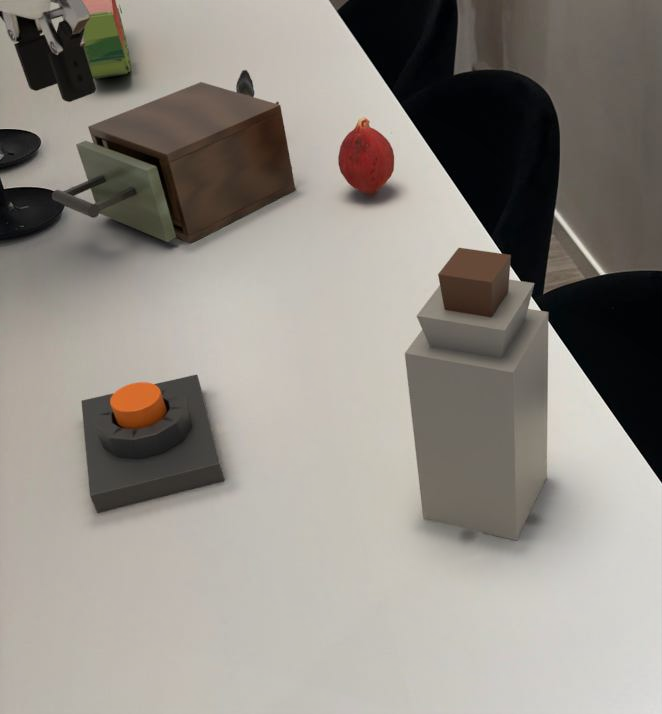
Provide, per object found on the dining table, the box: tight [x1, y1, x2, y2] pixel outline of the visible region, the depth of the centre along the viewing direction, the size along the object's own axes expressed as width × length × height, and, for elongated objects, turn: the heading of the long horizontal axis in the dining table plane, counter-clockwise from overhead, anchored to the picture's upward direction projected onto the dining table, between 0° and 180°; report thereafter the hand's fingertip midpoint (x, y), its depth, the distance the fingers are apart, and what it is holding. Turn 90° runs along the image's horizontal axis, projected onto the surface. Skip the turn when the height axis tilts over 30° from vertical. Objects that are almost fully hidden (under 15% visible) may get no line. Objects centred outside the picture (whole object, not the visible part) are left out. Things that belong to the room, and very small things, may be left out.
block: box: [80, 374, 225, 514], centre depth 72 cm, size 12×9×4 cm
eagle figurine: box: [235, 69, 280, 105], centre depth 115 cm, size 8×7×9 cm
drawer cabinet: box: [87, 81, 297, 244], centre depth 101 cm, size 15×13×9 cm
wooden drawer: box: [51, 139, 182, 243], centre depth 98 cm, size 19×11×7 cm, turn 142°
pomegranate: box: [337, 117, 395, 196], centre depth 101 cm, size 6×6×8 cm
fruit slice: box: [82, 0, 132, 80], centre depth 134 cm, size 26×6×10 cm, turn 18°
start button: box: [110, 381, 167, 429], centre depth 70 cm, size 4×4×2 cm
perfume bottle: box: [404, 247, 549, 541], centre depth 61 cm, size 7×7×18 cm
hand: (62, 89), depth 87 cm, fingers open, 4 cm apart
